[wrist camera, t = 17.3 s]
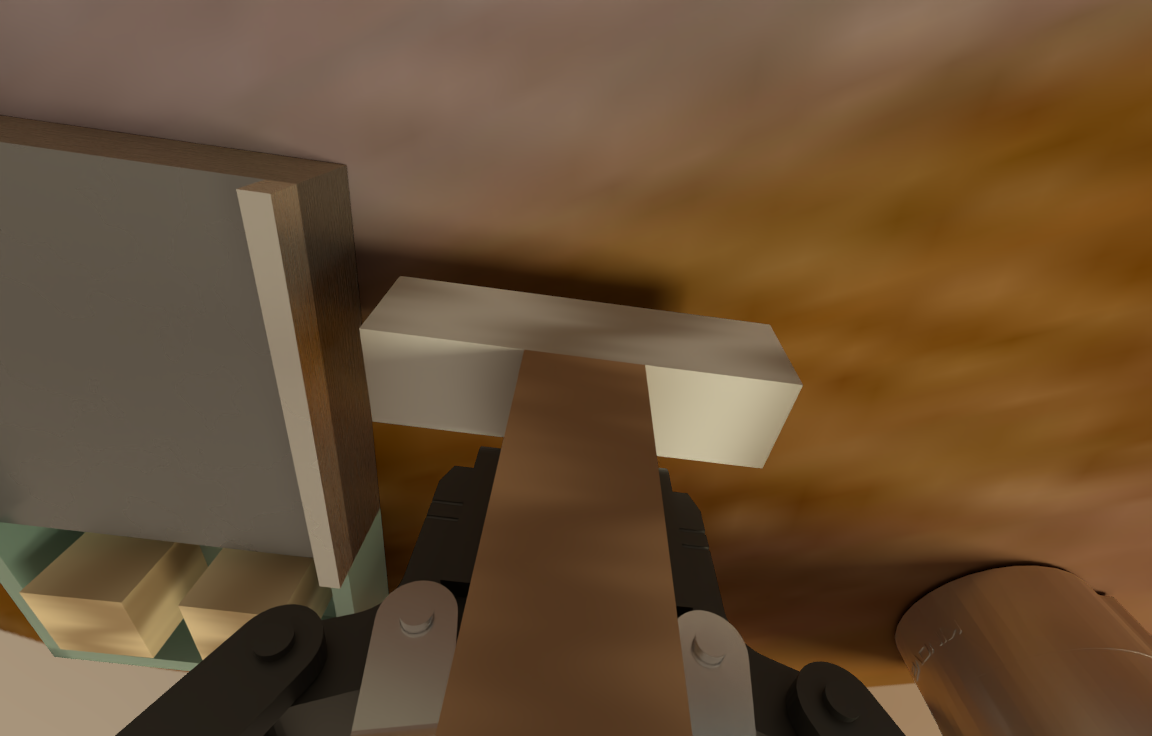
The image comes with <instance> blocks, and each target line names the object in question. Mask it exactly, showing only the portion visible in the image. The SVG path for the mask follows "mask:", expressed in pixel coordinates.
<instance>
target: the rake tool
mask: <svg viewBox="0 0 1152 736" xmlns="http://www.w3.org/2000/svg"><path fill="white" fill-rule="evenodd" d="M359 330H360V337H361V344H362V351H363V358H364V365H365V372H366V379H367V386H368V393H369V400H370V407H371V414H372V420H373V422H382V423H390V424H398V425H406V426H415V427H423V428H431V429H440V430H448V431H456V432H464V433H473V434H481V435H489V436H498V437H504V439H503V444H502V448H501V452H500V457H499V461H498V465H497V470H496V474H495V478H494V483H493V487H492V492H491V496H490V500H489V505H488V509H487V513H486V518H485V522H484V526H483V531H482V535H481V539H480V544H479V548H478V552H477V557H476V561H475V565H474V570H473V574H472V578H471V583H470V587H469V591H468V596H467V600H466V604H465V609H464V613H463V617H462V622H461V626H460V631H459V635H458V639H457V644H456V648H455V652H454V657H453V661H452V665H451V670H450V674H449V678H448V683H447V687H446V691H445V696H444V700H443V704H442V709H441V713H440V717H439V722H438V726H437V730H436V735H435V736H693V735H692V727H691V720H690V712H689V704H688V696H687V688H686V681H685V673H684V665H683V657H682V649H681V641H680V634H679V626H678V618H677V610H676V602H675V595H674V587H673V579H672V571H671V563H670V555H669V548H668V540H667V532H666V524H665V516H664V508H663V501H662V493H661V485H660V477H659V469H658V462H657V456H663V457H672V458H680V459H688V460H697V461H705V462H713V463H721V464H730V465H738V466H746V467H755V468H763V466H764V464H765V462H766V460H767V458H768V456H769V454H770V451H771V449H772V447H773V445H774V443H775V441H776V439H777V437H778V435H779V433H780V431H781V429H782V427H783V425H784V423H785V421H786V419H787V417H788V415H789V413H790V411H791V408H792V406H793V404H794V402H795V400H796V398H797V396H798V394H799V392H800V390H801V388H802V386H803V384H802V383H801V381H800V379H799V377H798V375H797V373H796V372H795V370H794V368H793V366H792V364H791V363H790V361H789V359H788V357H787V355H786V353H785V352H784V350H783V348H782V346H781V344H780V343H779V341H778V339H777V337H776V335H775V333H774V332H773V330H772V328H771V326H770V325H768V324H760V323H753V322H745V321H738V320H730V319H722V318H715V317H707V316H700V315H692V314H685V313H677V312H670V311H662V310H654V309H647V308H639V307H632V306H624V305H617V304H609V303H601V302H594V301H586V300H579V299H571V298H564V297H556V296H549V295H541V294H533V293H526V292H518V291H511V290H503V289H496V288H488V287H480V286H473V285H465V284H458V283H450V282H443V281H435V280H428V279H420V278H412V277H405V276H400V277H399V278H398V279H397V280H396V282H395V283H394V284H393V286H392V287H391V288H390V289H389V291H388V292H387V293H386V295H385V296H384V297H383V298H382V300H381V301H380V302H379V304H378V305H377V306H376V307H375V309H374V310H373V311H372V313H371V314H370V315H369V316H368V318H367V319H366V320H365V322H364V323H363V324H362V326H361V327H360V328H359Z"/></svg>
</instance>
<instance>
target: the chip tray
mask: <svg viewBox="0 0 1152 736" xmlns="http://www.w3.org/2000/svg"><path fill="white" fill-rule="evenodd" d="M84 533H85V532H81V531H73V530H64V529H55V528H46V527H38V526H29V525H20V524H11V523H3V522H0V583H1V584H2V585H3V587H4V588H5V590H6V591H7V592H8V594H9V595H10V596H11V598H12V599H13V601H14V602H15V603H16V605H17V606H18V607H19V609H20V610H21V612H22V613H23V614H24V616H25V617H26V618H27V620H28V621H29V623H30V624H31V625H32V627H33V628H34V629H35V631H36V632H37V634H38V635H39V636H40V638H41V639H42V640H43V642H44V643H45V645H46V646H47V647H48V649H49V650H50V651H51V653H52V654H53V655H54V657H62V658H71V659H81V660H90V661H101V662H109V663H119V664H128V665H138V666H147V667H157V668H166V669H176V670H185V671H191V670H192V669H193V668H194V667H195V666H197V665H198V664H199V663H200V662H201V661H202V658H201V655H200V653H199V651H198V649H197V647H196V644H195V642H194V640H193V638H192V636H191V633H190V631H189V629H188V627H187V624H186V622H185V620H184V618H183V619H182V621H181V622H180V623H179V625H178V626H177V627H176V629H175V630H174V631H173V633H172V634H171V635H170V637H169V638H168V639H167V641H166V642H165V643H164V645H163V646H162V647H161V649H160V650H159V651H158V653H157V654H156V655H155V657H154V658H146V657H136V656H126V655H116V654H105V653H95V652H85V651H75V650H64V649H60V648H59V646H58V645H57V644H56V642H55V641H54V639H53V638H52V637H51V635H50V634H49V633H48V631H47V630H46V629H45V627H44V626H43V624H42V623H41V622H40V620H39V619H38V618H37V616H36V615H35V614H34V612H33V611H32V609H31V608H30V607H29V605H28V604H27V603H26V601H25V600H24V599H23V597H22V596H21V594H20V593H19V592H20V591H21V590H22V589H23V588H24V587H26V586H27V585H28V584H29V583H30V582H31V581H32V580H33V579H34V578H35V577H37V576H38V575H39V574H40V573H41V572H42V571H43V570H44V569H45V568H47V567H48V566H49V565H50V564H51V563H52V562H53V561H54V560H55V559H56V558H58V557H59V556H60V555H61V554H62V553H63V552H64V551H65V550H66V549H68V548H69V547H70V546H71V545H72V544H73V543H74V542H75V541H76V540H77V539H79V538H80V537H81V536H82V535H83V534H84ZM199 546H200V548H201V550H202V553H203V555H204V558H205V560H206V563H207V565H208V567H209V565H210V564H211V563H212V561H213V560H214V559H215V558H216V556H217V555H218V554H219V552H220V551H221V550H222V549H223V548H221V547H212V546H203V545H199ZM331 590H332V595H333V596H332V598H331V600H330V602H329V604H328V606H327V608H326V610H325V612H324V614H323V616H322V618H321V620H325V619H330V618H334V617H339V616H344V615H349V614H354V613H358V612H362V611H365V610H368V609H370V608H372V607H374V606H376V605H378V604H380V603H381V602H383V601H384V599H385V598H386V597H387V596H388V595H389V592H388V582H387V571H386V561H385V551H384V541H383V531H382V521H381V511H380V509H379V511H378V513H377V515H376V517H375V519H374V521H373V523H372V526H371V528H370V530H369V532H368V534H367V536H366V538H365V540H364V542H363V544H362V546H361V548H360V550H359V552H358V554H357V556H356V558H355V560H354V562H353V564H352V566H351V568H350V570H349V572H348V574H347V576H346V578H345V580H344V582H343V584H342V586H341V588H340V589H339V588H331Z"/></svg>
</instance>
